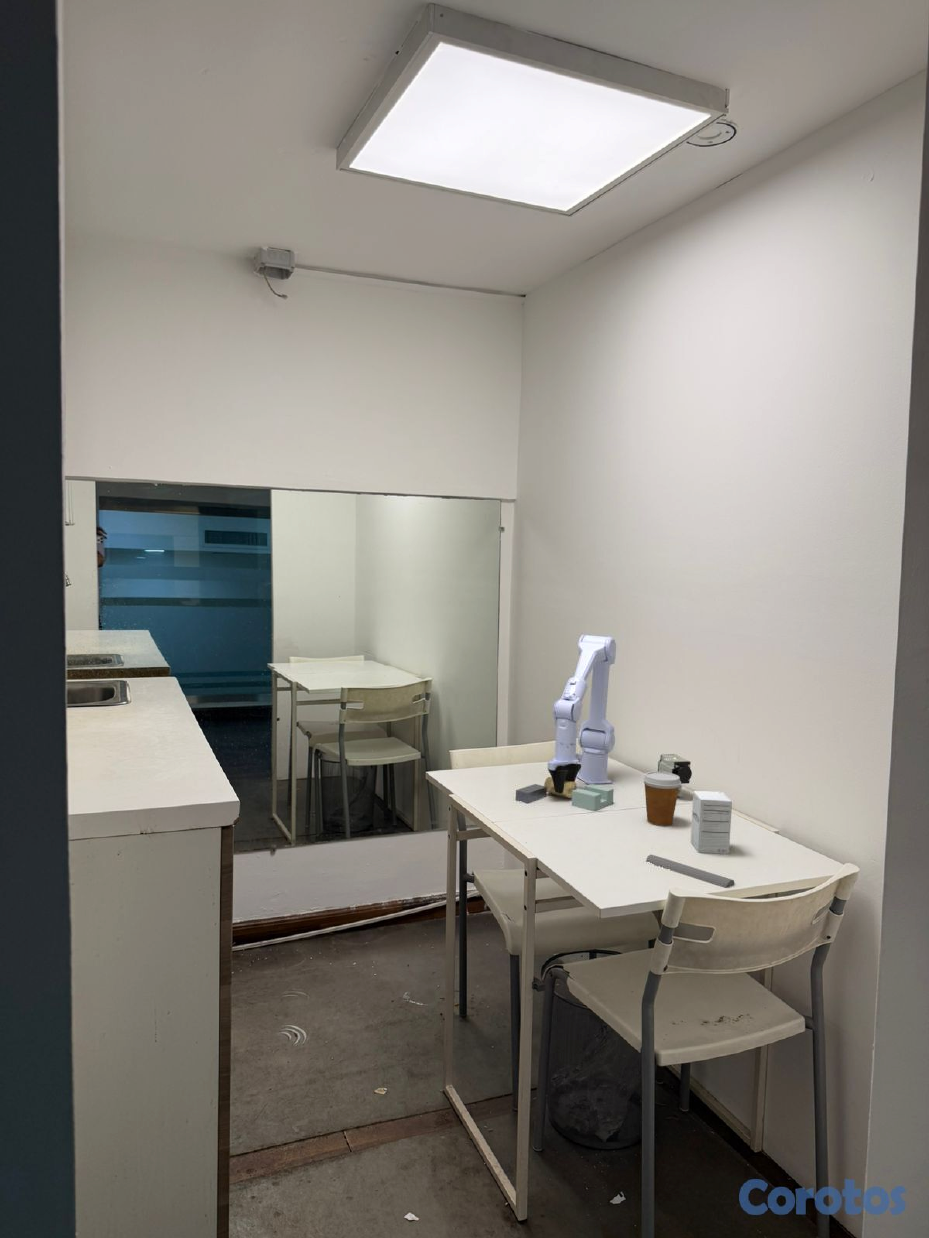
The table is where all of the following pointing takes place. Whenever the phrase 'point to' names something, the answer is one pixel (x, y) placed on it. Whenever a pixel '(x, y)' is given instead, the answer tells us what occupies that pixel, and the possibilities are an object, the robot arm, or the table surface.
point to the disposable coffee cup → (661, 797)
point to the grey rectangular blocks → (531, 793)
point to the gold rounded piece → (568, 787)
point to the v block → (592, 797)
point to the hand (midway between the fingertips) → (563, 790)
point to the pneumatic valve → (676, 768)
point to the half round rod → (690, 871)
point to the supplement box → (711, 822)
